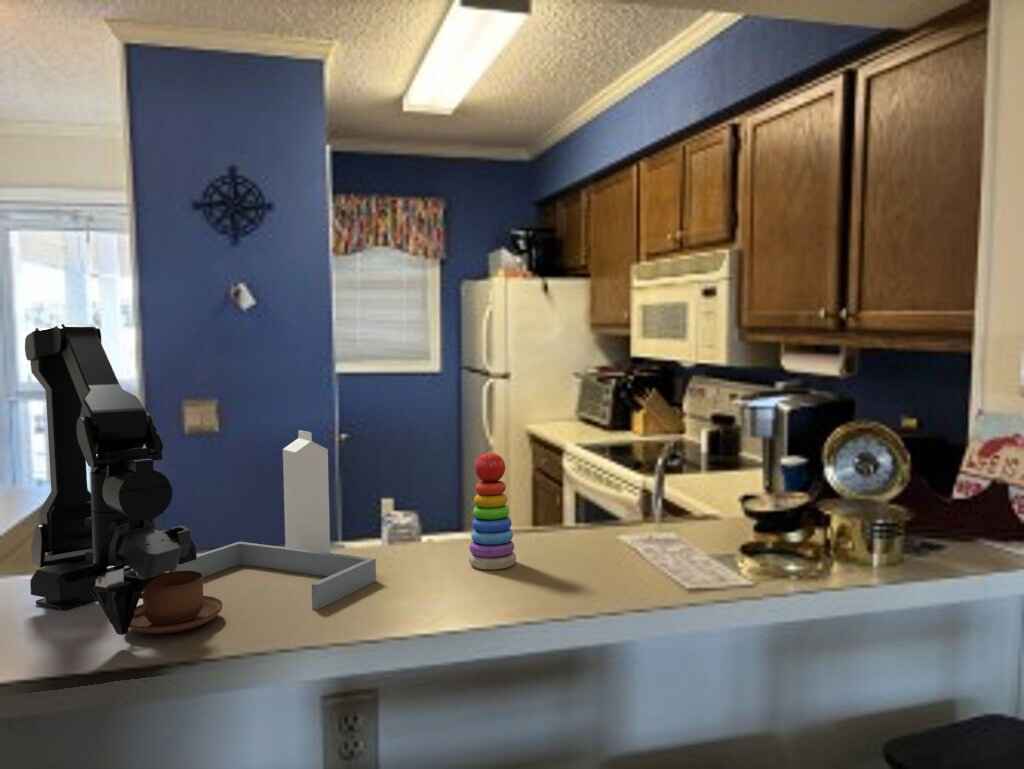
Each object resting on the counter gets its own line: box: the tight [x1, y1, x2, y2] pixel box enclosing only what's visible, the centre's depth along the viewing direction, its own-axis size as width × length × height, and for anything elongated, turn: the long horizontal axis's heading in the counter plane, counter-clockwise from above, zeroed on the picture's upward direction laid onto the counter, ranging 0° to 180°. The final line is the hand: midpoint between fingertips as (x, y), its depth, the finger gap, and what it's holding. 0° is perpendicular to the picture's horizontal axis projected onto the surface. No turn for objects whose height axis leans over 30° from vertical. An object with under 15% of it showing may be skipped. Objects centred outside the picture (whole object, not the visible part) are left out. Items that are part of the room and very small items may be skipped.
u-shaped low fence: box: [174, 541, 377, 610], centre depth 116 cm, size 28×14×4 cm, turn 66°
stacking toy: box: [468, 452, 517, 571], centre depth 125 cm, size 8×8×19 cm
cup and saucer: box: [129, 570, 224, 635], centre depth 99 cm, size 12×12×6 cm
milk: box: [282, 429, 331, 553], centre depth 132 cm, size 6×6×22 cm
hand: (122, 633), depth 92 cm, fingers closed
